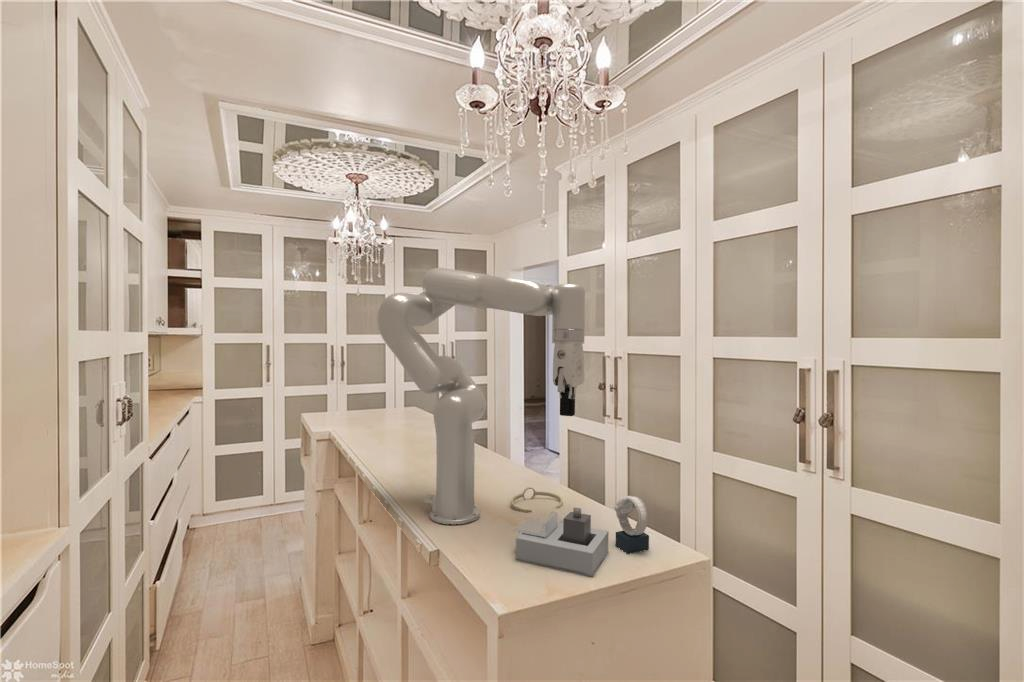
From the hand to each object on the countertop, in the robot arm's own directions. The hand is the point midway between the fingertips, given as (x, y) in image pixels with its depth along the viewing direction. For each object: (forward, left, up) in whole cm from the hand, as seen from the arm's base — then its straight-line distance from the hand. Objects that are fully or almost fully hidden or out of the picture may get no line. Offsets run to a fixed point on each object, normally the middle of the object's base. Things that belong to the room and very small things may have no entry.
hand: (567, 415), depth 118 cm
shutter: (-2, -14, -22) cm, 26 cm away
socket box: (+4, -13, -27) cm, 31 cm away
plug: (+7, -13, -27) cm, 31 cm away
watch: (+16, -3, -27) cm, 32 cm away
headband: (-13, +13, -28) cm, 33 cm away
